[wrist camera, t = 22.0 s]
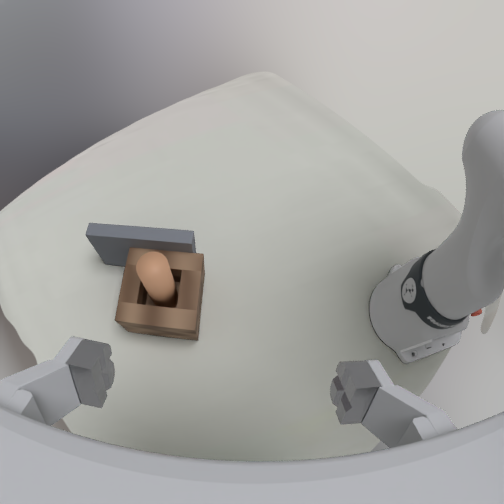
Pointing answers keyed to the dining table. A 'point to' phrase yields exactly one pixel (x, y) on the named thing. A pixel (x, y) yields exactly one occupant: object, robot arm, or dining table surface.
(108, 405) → the dining table surface
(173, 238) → the wall
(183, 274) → the socket block
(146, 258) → the dowel
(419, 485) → the robot arm
